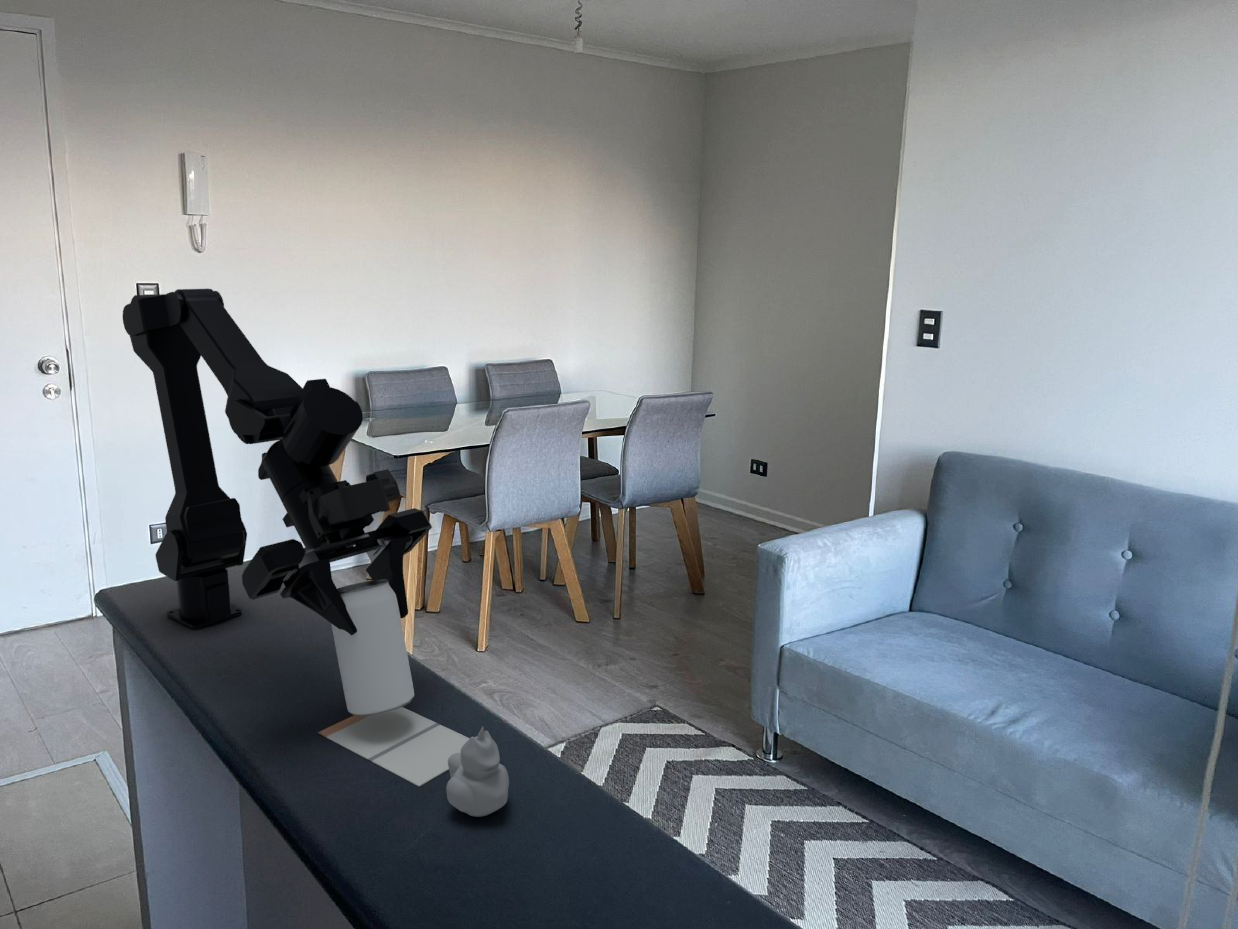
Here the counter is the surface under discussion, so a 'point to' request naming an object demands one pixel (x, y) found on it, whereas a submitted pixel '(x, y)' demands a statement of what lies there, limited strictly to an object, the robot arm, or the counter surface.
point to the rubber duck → (477, 777)
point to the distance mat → (399, 743)
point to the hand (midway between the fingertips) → (380, 625)
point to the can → (373, 650)
